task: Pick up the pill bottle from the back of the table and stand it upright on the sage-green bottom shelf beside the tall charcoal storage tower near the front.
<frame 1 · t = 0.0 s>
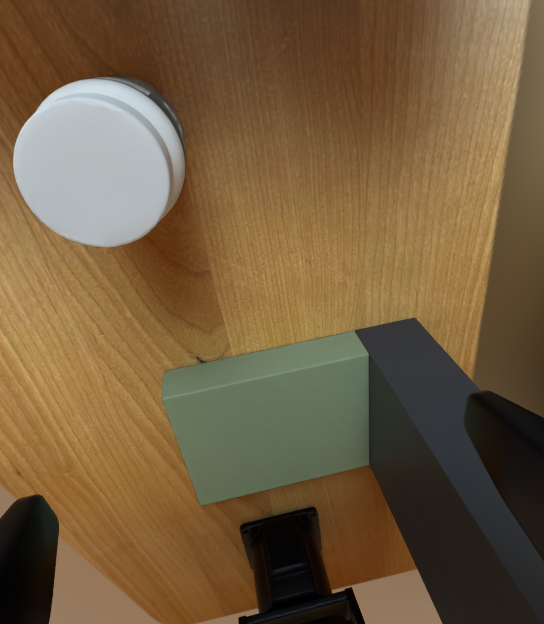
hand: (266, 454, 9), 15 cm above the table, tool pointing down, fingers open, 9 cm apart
storage rack: (306, 400, 28), on the table
pill bottle: (130, 135, 19), on the table
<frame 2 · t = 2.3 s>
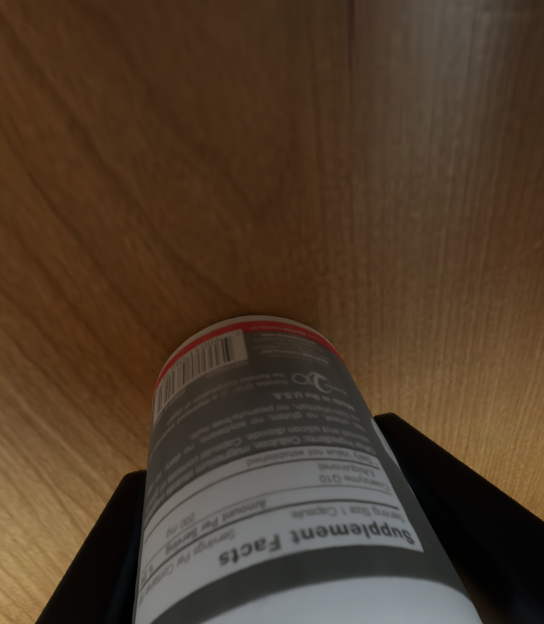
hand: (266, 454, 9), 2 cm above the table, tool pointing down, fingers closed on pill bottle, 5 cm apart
pill bottle: (250, 384, 11), on the table, touching gripper
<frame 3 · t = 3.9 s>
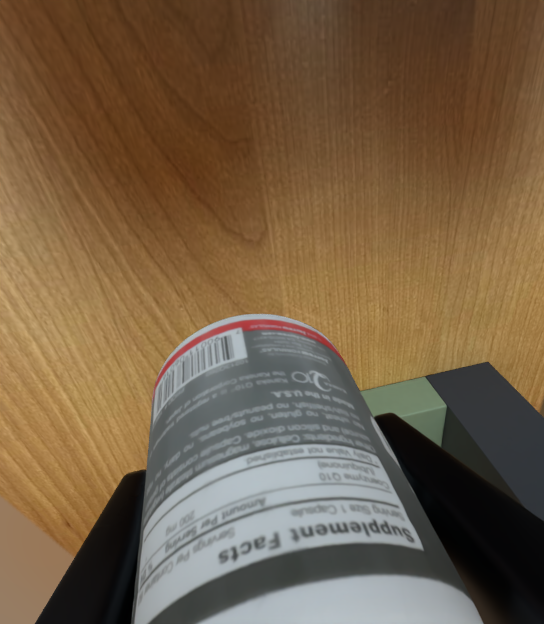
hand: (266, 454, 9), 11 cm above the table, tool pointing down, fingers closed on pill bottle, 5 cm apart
storage rack: (368, 445, 27), on the table
pill bottle: (250, 383, 11), point 9 cm above the table, touching gripper
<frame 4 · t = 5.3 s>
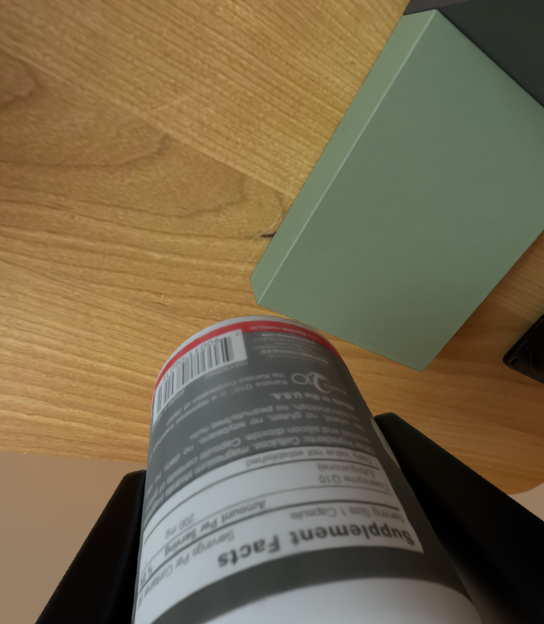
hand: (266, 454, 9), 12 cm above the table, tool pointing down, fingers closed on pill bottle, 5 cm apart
storage rack: (435, 166, 19), on the table
pill bottle: (250, 384, 11), point 10 cm above the table, touching gripper
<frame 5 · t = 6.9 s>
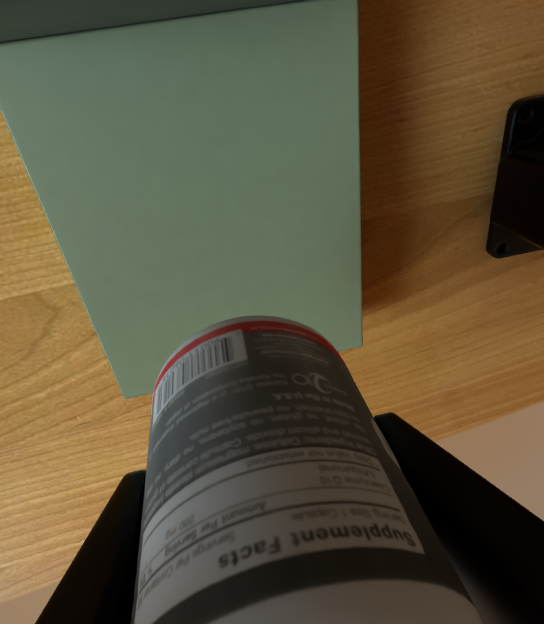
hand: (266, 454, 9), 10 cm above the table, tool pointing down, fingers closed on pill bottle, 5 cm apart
storage rack: (199, 144, 15), on the table
pill bottle: (250, 385, 11), point 8 cm above the table, touching gripper
when the fingers open (4 cm above the table, at t = 8.5 s): pill bottle stays where it is, resting on storage rack.
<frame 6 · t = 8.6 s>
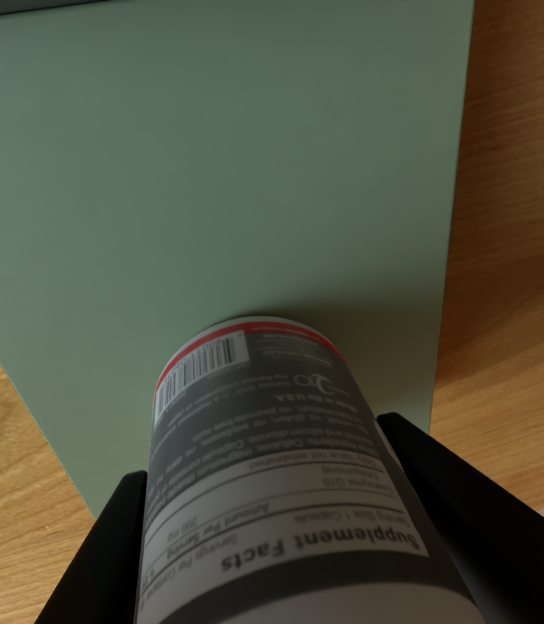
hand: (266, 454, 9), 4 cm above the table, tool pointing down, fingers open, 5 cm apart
storage rack: (206, 186, 10), on the table
pill bottle: (252, 385, 10), point 2 cm above the table, touching storage rack
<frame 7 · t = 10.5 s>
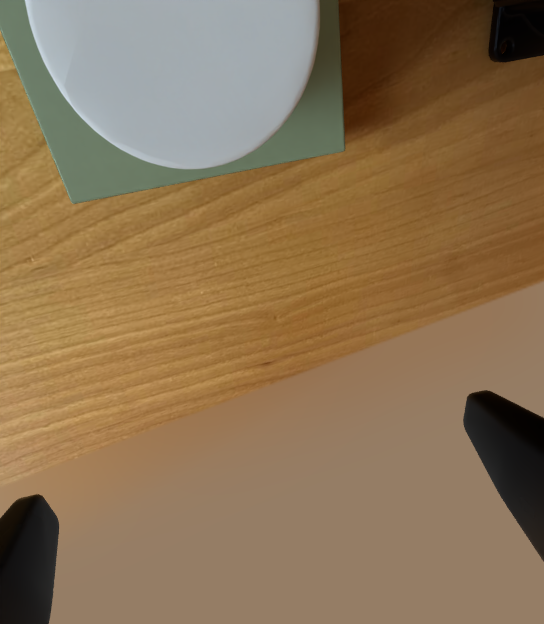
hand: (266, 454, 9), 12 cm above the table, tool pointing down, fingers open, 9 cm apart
pill bottle: (185, 44, 13), point 2 cm above the table, touching storage rack
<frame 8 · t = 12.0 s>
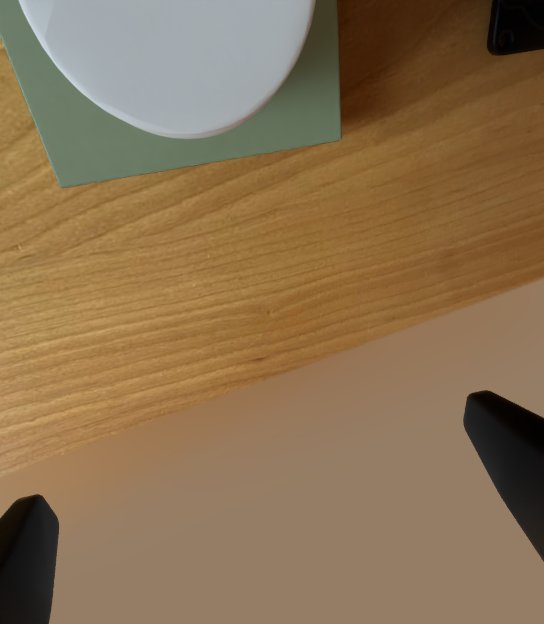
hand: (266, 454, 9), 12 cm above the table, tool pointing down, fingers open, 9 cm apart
pill bottle: (180, 25, 13), point 2 cm above the table, touching storage rack
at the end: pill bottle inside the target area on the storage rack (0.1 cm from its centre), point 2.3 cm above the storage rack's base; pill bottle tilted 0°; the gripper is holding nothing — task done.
